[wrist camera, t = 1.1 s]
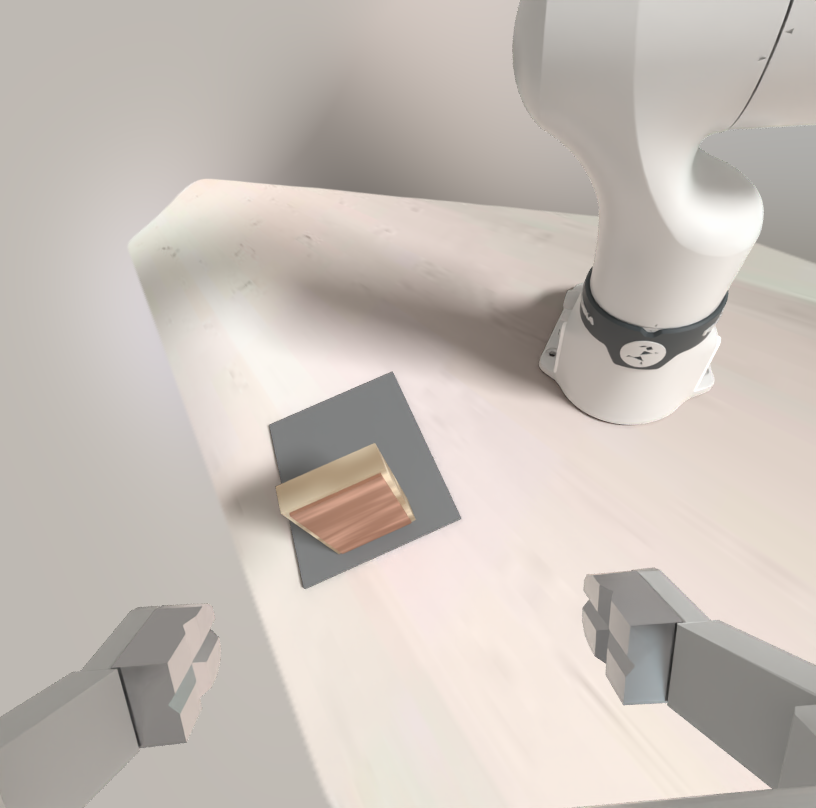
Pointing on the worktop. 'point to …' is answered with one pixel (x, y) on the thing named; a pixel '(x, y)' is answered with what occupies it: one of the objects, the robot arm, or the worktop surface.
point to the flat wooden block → (347, 501)
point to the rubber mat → (351, 431)
